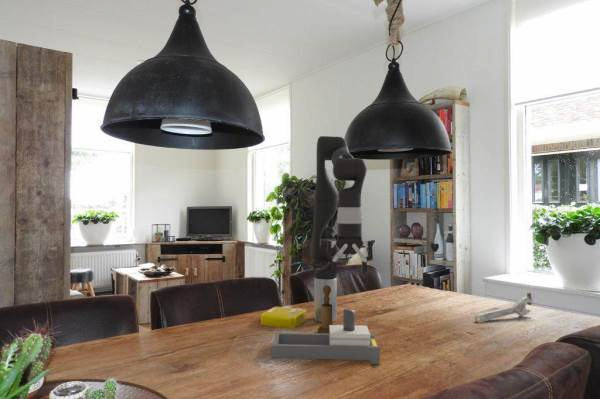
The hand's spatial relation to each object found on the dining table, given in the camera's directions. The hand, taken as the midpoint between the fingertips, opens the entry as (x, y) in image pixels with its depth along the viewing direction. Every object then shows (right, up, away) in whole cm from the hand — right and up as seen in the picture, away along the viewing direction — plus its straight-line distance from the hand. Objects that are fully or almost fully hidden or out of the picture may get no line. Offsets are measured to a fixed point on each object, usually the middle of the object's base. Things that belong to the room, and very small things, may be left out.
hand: (349, 273), depth 129 cm
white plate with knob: (0, -24, 0) cm, 24 cm away
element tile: (-22, -27, +38) cm, 51 cm away
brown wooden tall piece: (-6, -26, +20) cm, 33 cm away
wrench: (+70, -27, +43) cm, 87 cm away
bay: (-8, -26, 0) cm, 27 cm away
